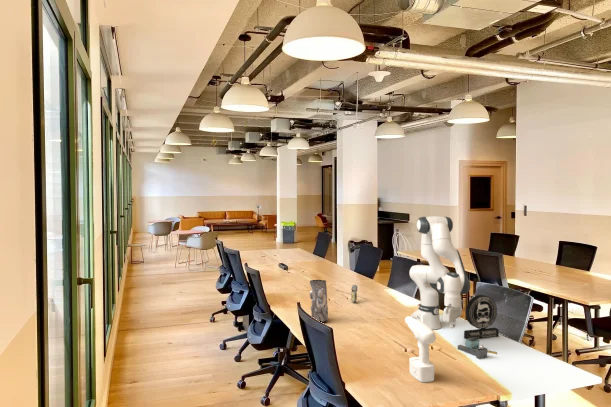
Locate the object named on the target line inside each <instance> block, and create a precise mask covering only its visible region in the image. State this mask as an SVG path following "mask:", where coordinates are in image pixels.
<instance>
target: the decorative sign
mask: <svg viewBox="0 0 611 407" xmlns="http://www.w3.org/2000/svg"><path fill="white" fill-rule="evenodd" d="M497 314H498V307H497V304H496V302H495V301H494V300H493V298H491V297H490V296H487V295H484V294H477V295H475V296H473V297H472V298H471V299H470V300H469V301H468V303H467V305H466V308H465V316H466V320H467V322H468V323H469V324H470V325H471V326H472V327H474V328H476V329H466V330H464V331H463V339H465V340H466V339H469V338H474V339H476V340H481V339H489V338H490V339H491V338H499V337H500V336H499V335H500V334H499V333H500V332H499V328H497V327H491V326H492V325H493V323H494V322H495V321H496V319H497Z"/></svg>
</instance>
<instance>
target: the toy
mask: <svg viewBox="0 0 611 407" xmlns="http://www.w3.org/2000/svg"><path fill="white" fill-rule="evenodd" d="M350 289H351V291H350V293H351V294H350V293H349V292H344V291H341V290H339V289H336V291H338V292H342V293H345V294H348V295H350V297H351V298H350V300H351V302H352V303H353V301H354V302H356V303H357V300H358V298H362V299H365V300H367V298H366V297H363V296H362V297H361V296H359V295H358V285H357V284H352V286H351V288H350Z"/></svg>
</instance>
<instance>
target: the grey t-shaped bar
mask: <svg viewBox="0 0 611 407" xmlns="http://www.w3.org/2000/svg"><path fill="white" fill-rule="evenodd" d="M457 350H459V351H462V352H464V353H466V354H469V355H472V356H473V357H474V356H475V358H476V359H478V360H481V359H482V360H483V359H485V358H488V353H487V350H488V348H486V347H484V345H483V344H481V345H480V344H479V349H477V348H475V349H474V348H472V349H471V348H468V347H466V345H463V344H457Z"/></svg>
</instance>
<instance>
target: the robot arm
mask: <svg viewBox="0 0 611 407" xmlns="http://www.w3.org/2000/svg"><path fill="white" fill-rule="evenodd" d="M453 227H454V222H453V220H452V218H451V217H449V216H438V215H434V216H433V215H432V216H420V217H419V218H418V219H417V221H416V229H417V231H418V232H419V233H420V234H421V238H420V256H421V258H423V259H424V260H426V262H428V265H425V264H416V265H412V266H411V267H410V269H409V277H410V279H411V280H412V281H413V282H414V283H415V284H416V286H417V288H418V290H419V296H420V303H418V304H417V307H418V308H417V310H415V311H414V312H412V314H410V315H411V316H410V317H413V318H414V319H417V320H418V321H420V322H423V323H424V324H426V325H427V326H428V327H429V328H430V329H431V330H439V329H441V328H442V324H441V317H440V304H439V293H441V294H444V297H443V298H444V301H443V302H444V304H443V305H444V306H445V307H444V308H443V313H442V320H443V323H449V328H450V329H454V328H455V327H456V320H457V319H459V318H460V317H461V316H462V314H463V313H462V312H463V311H462V310H463V304H464V301H463V299H462V296H461V295H466V294H467V293H468V292H470V290H471V283H470V280H469V278H468V276H467V272H466V270H465V266H464V263H463V259H462V257H461V253H460V252H459V249H456V248H455V246H454V245H453V243H452V237H451V232H452V230H453ZM441 257H442V258H445V259H448V260H449V261H451V262H452V263H453V266H454V268H455V272H453V271H452V272H451V271H450V270H449V269H448V267H446V266H445V265H444V264H443V262H442V261H441ZM431 284H435V285H436V288H433V287H432V286H431Z"/></svg>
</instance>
